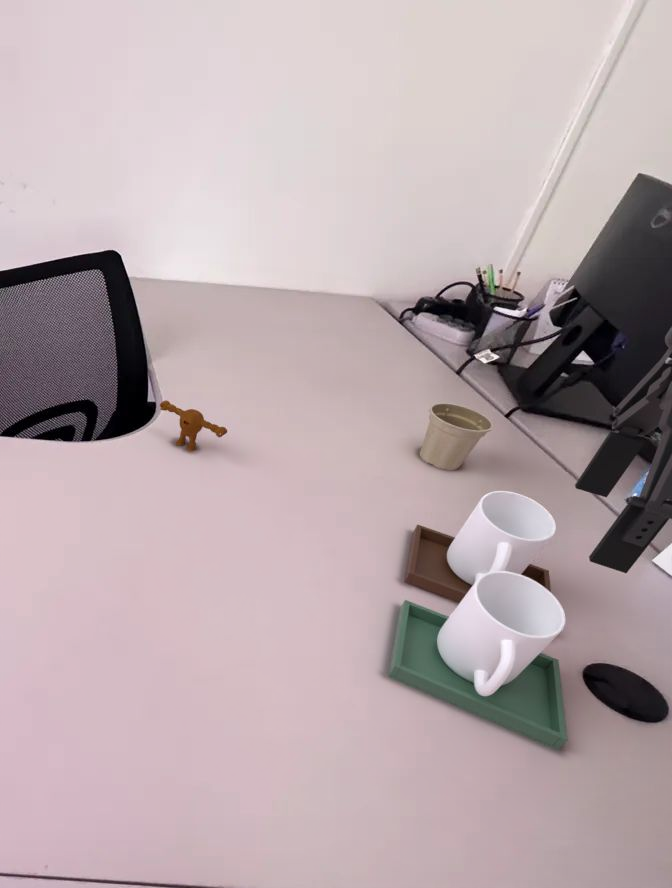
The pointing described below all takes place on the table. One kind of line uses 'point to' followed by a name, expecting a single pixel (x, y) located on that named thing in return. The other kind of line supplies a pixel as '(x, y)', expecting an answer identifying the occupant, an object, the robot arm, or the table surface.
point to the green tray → (512, 705)
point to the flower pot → (452, 434)
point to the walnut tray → (446, 566)
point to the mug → (500, 536)
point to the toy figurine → (191, 425)
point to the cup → (499, 629)
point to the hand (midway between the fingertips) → (598, 525)
